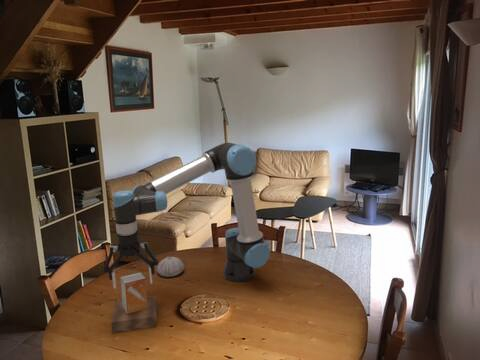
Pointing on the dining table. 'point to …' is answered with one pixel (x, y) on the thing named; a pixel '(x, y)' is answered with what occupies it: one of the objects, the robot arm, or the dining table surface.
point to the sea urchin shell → (170, 267)
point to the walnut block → (134, 317)
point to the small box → (134, 293)
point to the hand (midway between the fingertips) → (133, 284)
